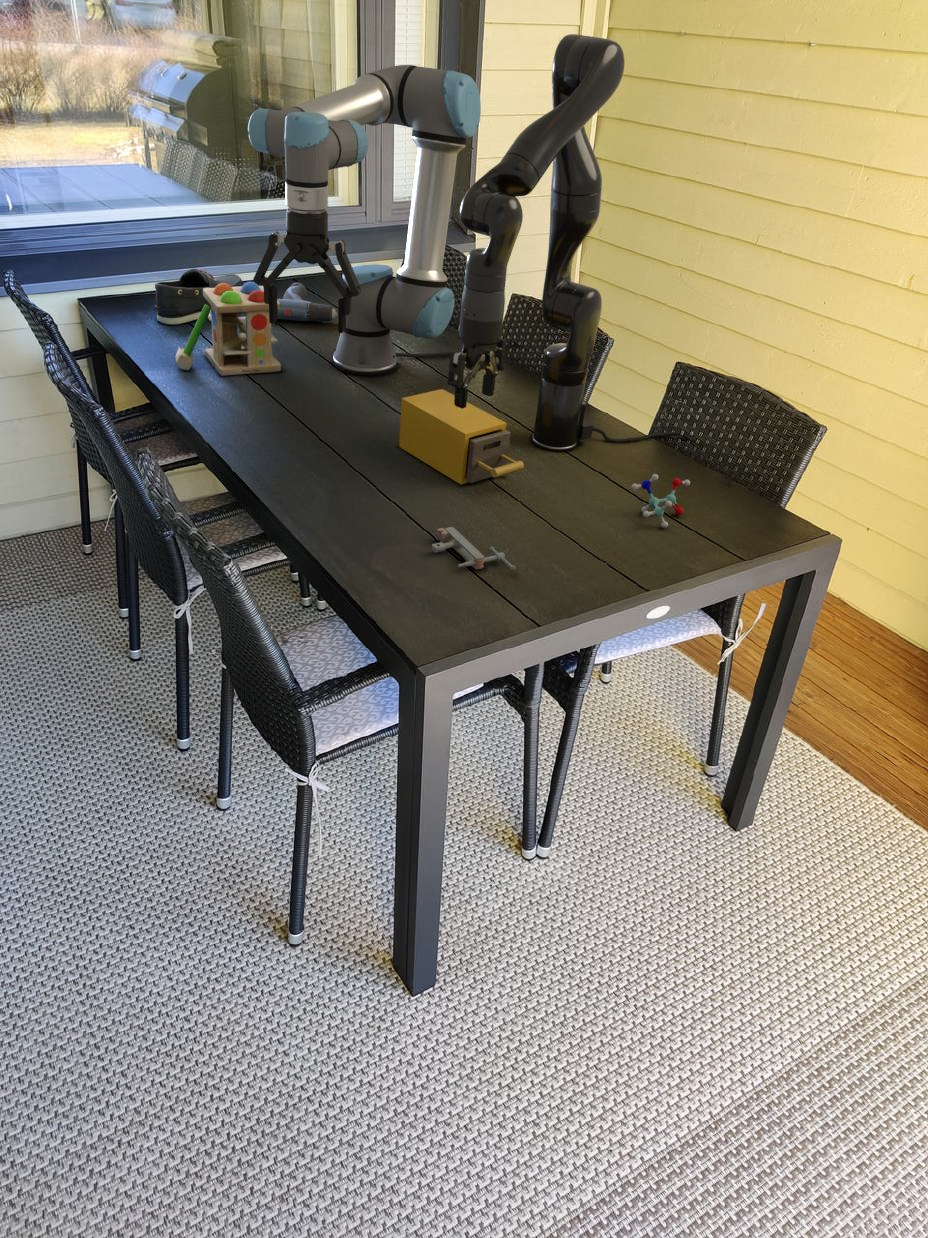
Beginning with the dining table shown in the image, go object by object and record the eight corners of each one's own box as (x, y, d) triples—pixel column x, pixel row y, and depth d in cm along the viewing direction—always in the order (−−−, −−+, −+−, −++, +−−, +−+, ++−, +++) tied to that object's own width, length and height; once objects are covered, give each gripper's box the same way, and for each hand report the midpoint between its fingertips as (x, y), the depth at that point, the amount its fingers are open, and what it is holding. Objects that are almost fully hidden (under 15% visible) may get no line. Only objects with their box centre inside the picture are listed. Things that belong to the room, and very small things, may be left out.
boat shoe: (263, 303, 272) (261, 264, 267) (174, 326, 248) (170, 284, 243) (229, 294, 278) (227, 256, 272) (139, 317, 254) (134, 275, 248)
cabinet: (500, 472, 195) (506, 422, 189) (460, 484, 189) (465, 433, 183) (438, 436, 207) (442, 388, 201) (399, 446, 201) (401, 397, 195)
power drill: (344, 304, 276) (335, 327, 259) (277, 298, 275) (264, 321, 258) (344, 285, 273) (335, 306, 256) (277, 279, 272) (264, 300, 255)
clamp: (422, 531, 168) (472, 521, 172) (421, 542, 169) (471, 532, 174) (465, 574, 157) (517, 562, 162) (464, 586, 159) (516, 573, 163)
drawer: (525, 483, 189) (531, 443, 185) (490, 495, 184) (494, 453, 179) (446, 438, 204) (449, 399, 199) (411, 447, 199) (413, 407, 194)
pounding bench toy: (183, 379, 220) (176, 299, 210) (169, 357, 231) (162, 280, 221) (282, 371, 230) (280, 294, 220) (264, 350, 240) (262, 276, 230)
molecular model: (693, 521, 176) (676, 468, 175) (642, 536, 180) (626, 484, 178) (699, 512, 187) (684, 462, 185) (651, 526, 190) (636, 477, 189)
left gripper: (232, 204, 175) (238, 322, 187) (369, 222, 172) (365, 340, 184) (247, 196, 181) (252, 311, 193) (379, 213, 179) (375, 328, 190)
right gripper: (475, 326, 164) (467, 417, 173) (522, 309, 174) (512, 396, 183) (440, 315, 168) (434, 405, 177) (488, 299, 177) (480, 385, 187)
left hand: (307, 326), depth 189 cm, fingers open, 13 cm apart
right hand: (474, 400), depth 180 cm, fingers open, 8 cm apart
